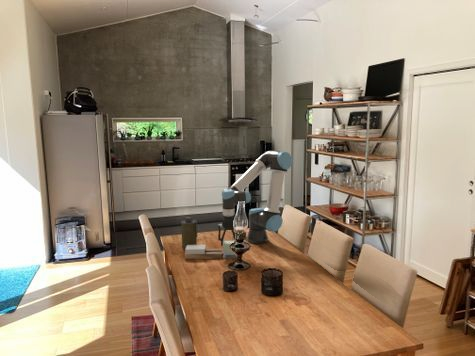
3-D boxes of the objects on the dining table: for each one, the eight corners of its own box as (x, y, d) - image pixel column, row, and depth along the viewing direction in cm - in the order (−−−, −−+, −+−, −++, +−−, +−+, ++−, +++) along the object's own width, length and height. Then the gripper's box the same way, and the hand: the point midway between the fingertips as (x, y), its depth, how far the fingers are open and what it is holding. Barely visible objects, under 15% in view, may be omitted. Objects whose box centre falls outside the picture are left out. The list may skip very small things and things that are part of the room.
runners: (186, 253, 245) (186, 249, 244) (222, 253, 245) (222, 248, 245) (184, 258, 236) (184, 254, 236) (221, 258, 236) (221, 253, 236)
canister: (179, 247, 257) (178, 218, 254) (185, 243, 267) (184, 215, 264) (194, 249, 254) (193, 220, 251) (200, 244, 264) (199, 216, 261)
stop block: (224, 249, 243) (224, 240, 242) (233, 249, 243) (233, 240, 243) (224, 253, 237) (224, 243, 237) (233, 252, 237) (233, 243, 237)
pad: (223, 252, 246) (223, 252, 246) (235, 252, 246) (235, 252, 246) (222, 258, 236) (222, 257, 236) (235, 258, 236) (235, 257, 236)
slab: (187, 249, 244) (186, 244, 244) (205, 249, 245) (205, 244, 244) (185, 254, 236) (185, 249, 235) (204, 253, 236) (204, 249, 235)
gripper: (213, 216, 233) (213, 253, 236) (244, 216, 234) (244, 252, 237) (213, 213, 241) (214, 249, 244) (243, 213, 241) (243, 248, 244)
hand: (228, 250), depth 240 cm, fingers closed on stop block, 6 cm apart
